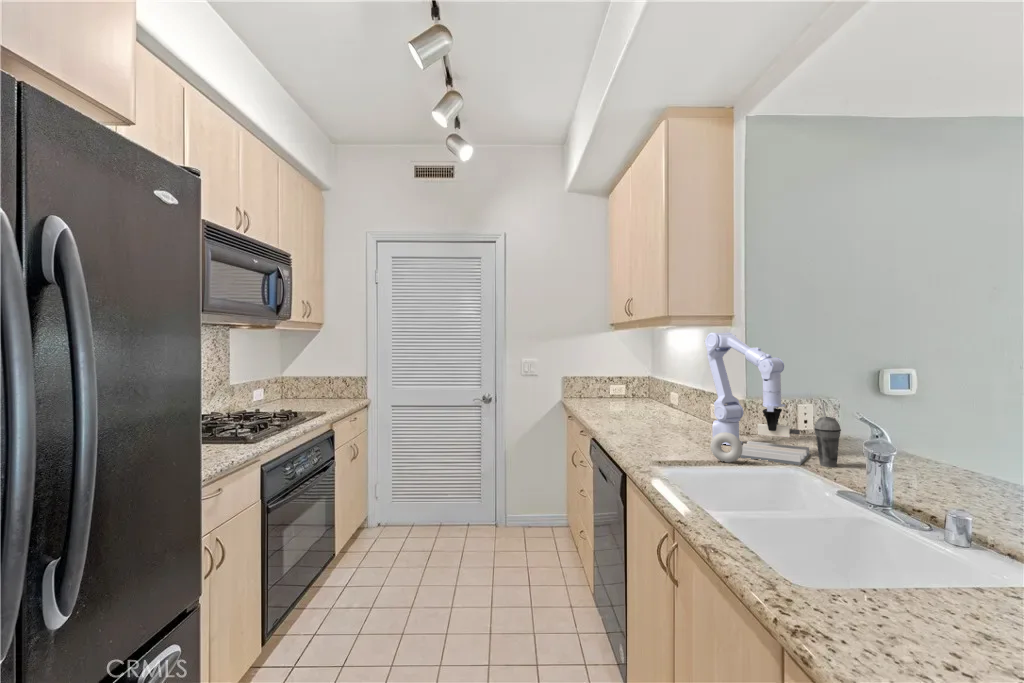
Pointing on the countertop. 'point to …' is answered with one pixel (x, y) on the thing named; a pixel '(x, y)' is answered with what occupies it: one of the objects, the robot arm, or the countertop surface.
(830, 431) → the beverage cup
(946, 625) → the countertop surface
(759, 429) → the white box with cylinder
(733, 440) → the donut
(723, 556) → the countertop surface
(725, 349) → the robot arm
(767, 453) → the grey tray
